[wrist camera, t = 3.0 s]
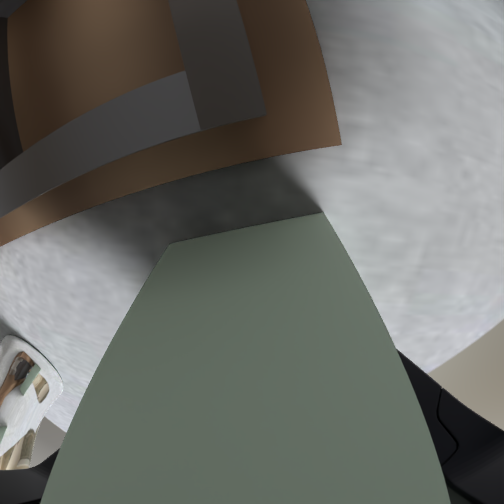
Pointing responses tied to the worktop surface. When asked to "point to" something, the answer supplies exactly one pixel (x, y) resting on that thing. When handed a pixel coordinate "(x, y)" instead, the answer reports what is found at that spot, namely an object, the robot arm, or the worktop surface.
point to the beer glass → (23, 399)
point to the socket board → (148, 97)
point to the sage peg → (250, 385)
